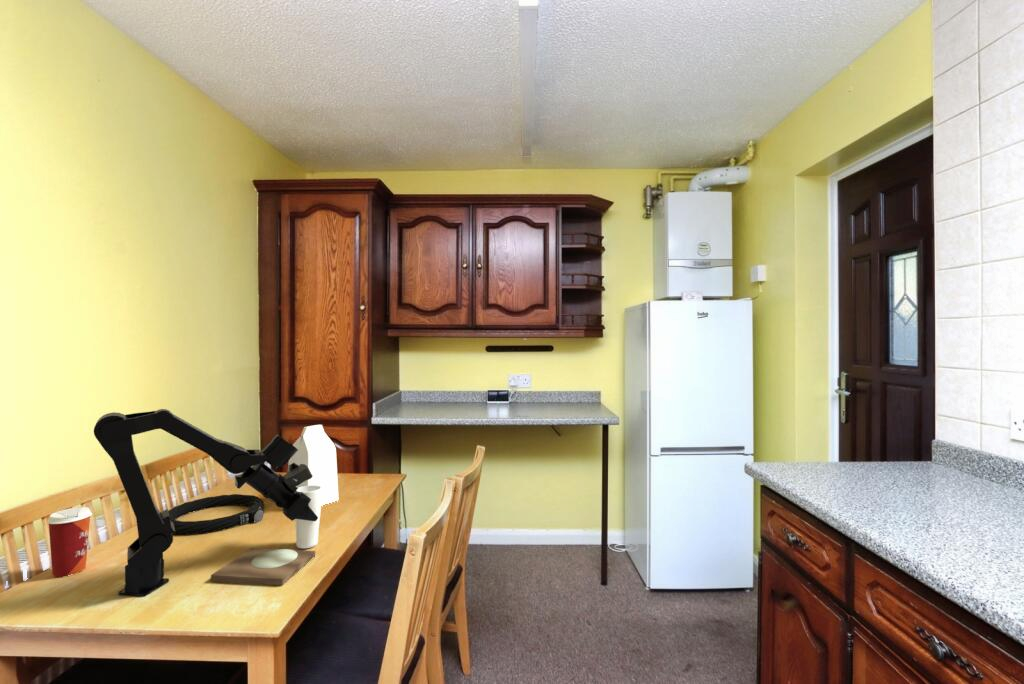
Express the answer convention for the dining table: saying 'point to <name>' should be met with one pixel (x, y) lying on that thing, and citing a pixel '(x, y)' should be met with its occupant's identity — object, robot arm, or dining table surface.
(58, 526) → the paper cup
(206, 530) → the cable lock
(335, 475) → the milk
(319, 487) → the drinking glass
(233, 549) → the dining table surface
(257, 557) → the walnut board
